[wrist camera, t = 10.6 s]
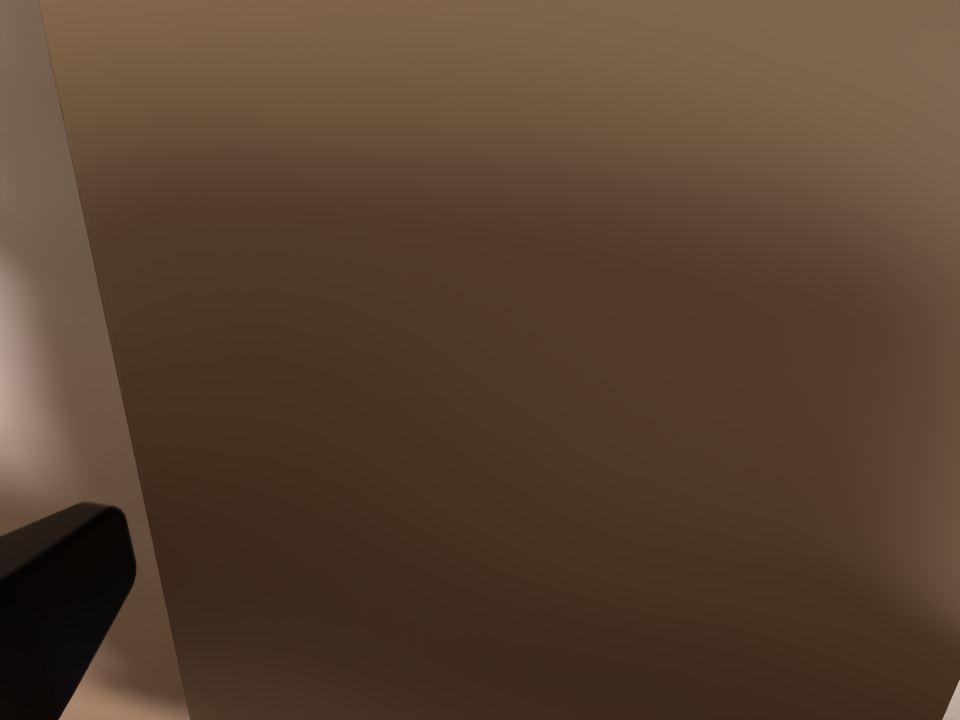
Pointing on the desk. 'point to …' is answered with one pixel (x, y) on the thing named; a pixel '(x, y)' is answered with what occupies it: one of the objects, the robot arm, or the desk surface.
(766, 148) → the pallet
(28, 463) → the desk surface
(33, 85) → the desk surface
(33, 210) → the desk surface
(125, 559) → the robot arm
